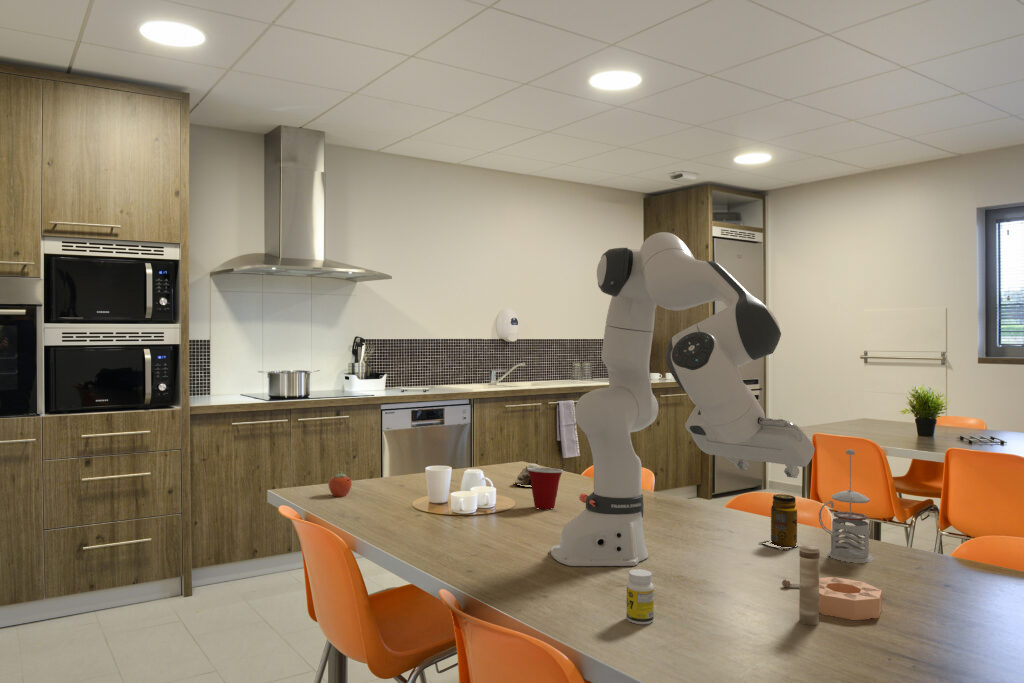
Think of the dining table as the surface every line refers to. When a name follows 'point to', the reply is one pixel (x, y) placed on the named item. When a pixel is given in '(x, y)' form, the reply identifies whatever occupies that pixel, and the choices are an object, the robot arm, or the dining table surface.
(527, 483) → the grey rounded lump
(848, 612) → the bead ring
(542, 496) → the plastic cup
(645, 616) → the supplement bottle
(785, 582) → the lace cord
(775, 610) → the dining table surface
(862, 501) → the french press
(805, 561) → the needle dowel
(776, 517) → the condiment
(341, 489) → the tomato
